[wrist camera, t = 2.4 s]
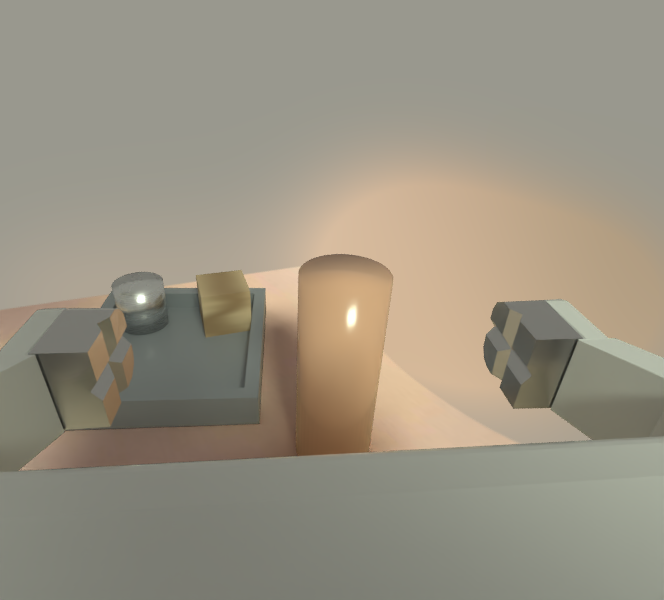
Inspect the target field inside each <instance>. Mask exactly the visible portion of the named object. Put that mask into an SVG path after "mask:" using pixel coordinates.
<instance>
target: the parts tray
mask: <svg viewBox="0 0 664 600" xmlns="http://www.w3.org/2000/svg"><path fill="white" fill-rule="evenodd" d="M249 290H250V298H251V330H250V331H244V332H238V333H232V334H225V335H219V336H213V337H205V332H204V328H203V323H202V319H201V314H200V306H199V297H198V289H197V288H164V291H165V297H166V303H167V309H168V315H169V322H168V324H167V325H166V326H165V327H164V328H163V329H161V330H159V331H157V332H155V333H152V334H147V335H131V334H128V333H125V332H124V333H123V335H122V336H123V337H124V338H125V339H126V340H127V341H129V342H130V343H131V345H132V350H133V356H134V368H133V375H132V379H131V381H130V384H129V386H128V387H127V388H126V389H125V390H123V391H122V392H120V393H119V396H120V399H121V404H120V406H119V409H118V411H117V413H116V415H115V417H114V420H113V422H112V424H111V426H110V427H98V428H84V429H70V430H91V429H121V428H150V427H179V426H209V425H238V424H259V421H260V404H261V386H262V369H263V352H264V334H265V317H266V295H265V288H249ZM101 308H116V304H115V300H114V295H113V291H112V292H111V293H110V294H109V296H108V297H107V299H106V300H105V302H104V304H103V305H102V307H101Z"/></svg>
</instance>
